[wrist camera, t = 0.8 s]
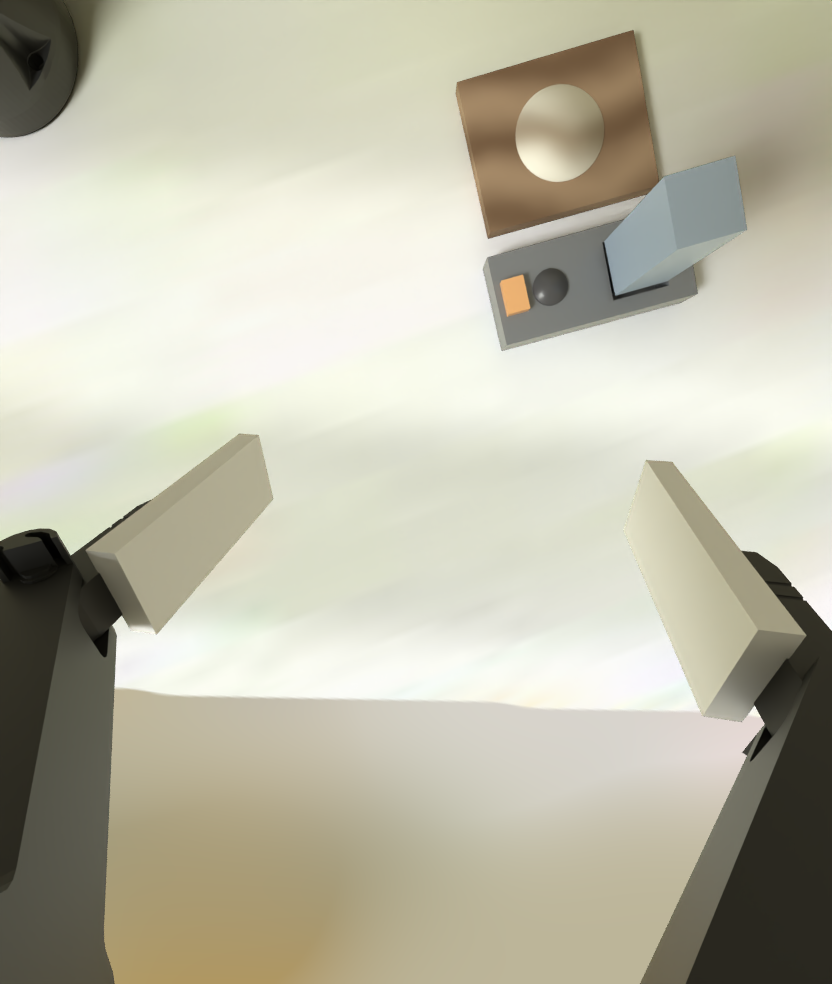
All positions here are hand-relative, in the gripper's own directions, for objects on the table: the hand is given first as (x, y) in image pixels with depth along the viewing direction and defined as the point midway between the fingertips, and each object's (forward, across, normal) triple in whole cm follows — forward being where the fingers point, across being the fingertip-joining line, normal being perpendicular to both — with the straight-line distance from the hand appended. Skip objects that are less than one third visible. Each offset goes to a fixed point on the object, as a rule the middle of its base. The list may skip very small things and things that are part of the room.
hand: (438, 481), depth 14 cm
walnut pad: (+39, +6, +15) cm, 42 cm away
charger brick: (+35, +13, +4) cm, 38 cm away
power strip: (+35, +10, +3) cm, 36 cm away
